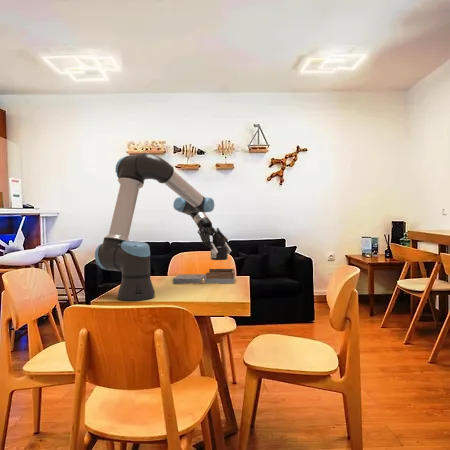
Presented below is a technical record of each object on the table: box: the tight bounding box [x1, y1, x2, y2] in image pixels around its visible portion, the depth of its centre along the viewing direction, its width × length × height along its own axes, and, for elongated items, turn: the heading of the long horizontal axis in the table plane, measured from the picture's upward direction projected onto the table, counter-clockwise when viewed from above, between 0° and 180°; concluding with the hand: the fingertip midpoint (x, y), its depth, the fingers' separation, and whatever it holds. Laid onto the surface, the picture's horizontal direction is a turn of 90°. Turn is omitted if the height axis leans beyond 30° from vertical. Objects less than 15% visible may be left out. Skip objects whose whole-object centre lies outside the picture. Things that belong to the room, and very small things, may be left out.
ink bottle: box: [210, 236, 229, 261], centre depth 203 cm, size 10×9×12 cm
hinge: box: [172, 273, 236, 285], centre depth 203 cm, size 18×31×3 cm, turn 86°
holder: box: [205, 268, 236, 279], centre depth 202 cm, size 16×14×3 cm
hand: (223, 252), depth 200 cm, fingers closed on ink bottle, 9 cm apart
